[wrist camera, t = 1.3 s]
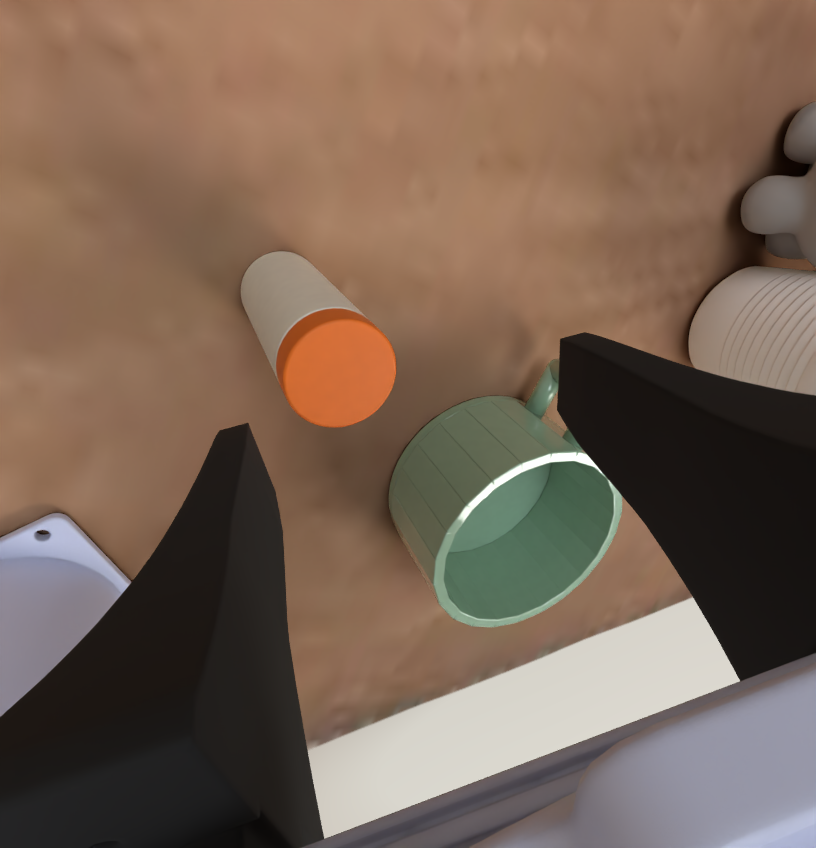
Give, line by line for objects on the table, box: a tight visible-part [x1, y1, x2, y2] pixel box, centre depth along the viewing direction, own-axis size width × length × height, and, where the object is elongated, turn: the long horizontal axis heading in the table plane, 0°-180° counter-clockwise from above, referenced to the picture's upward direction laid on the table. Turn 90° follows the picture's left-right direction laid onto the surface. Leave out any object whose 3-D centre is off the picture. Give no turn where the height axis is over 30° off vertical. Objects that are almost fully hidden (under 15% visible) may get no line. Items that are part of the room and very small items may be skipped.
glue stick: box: [241, 251, 396, 427], centre depth 17 cm, size 3×3×8 cm
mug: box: [389, 359, 622, 627], centre depth 26 cm, size 12×10×6 cm
